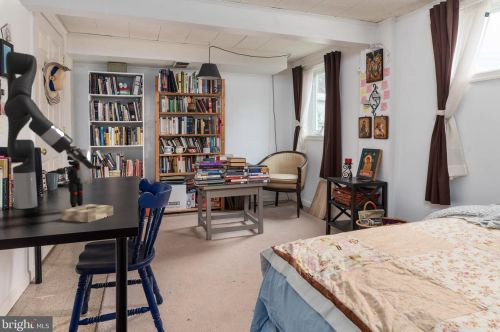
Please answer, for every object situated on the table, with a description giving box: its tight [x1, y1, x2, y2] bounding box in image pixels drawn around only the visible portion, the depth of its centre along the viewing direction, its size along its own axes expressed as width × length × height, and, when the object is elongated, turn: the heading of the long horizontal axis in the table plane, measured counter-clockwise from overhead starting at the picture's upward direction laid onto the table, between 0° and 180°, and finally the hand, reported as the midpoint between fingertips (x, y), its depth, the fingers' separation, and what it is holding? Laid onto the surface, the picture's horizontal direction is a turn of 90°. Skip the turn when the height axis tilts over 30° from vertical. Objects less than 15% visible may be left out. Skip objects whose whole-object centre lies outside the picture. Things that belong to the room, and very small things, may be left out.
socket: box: [61, 203, 114, 223], centre depth 145 cm, size 14×14×4 cm
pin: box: [79, 148, 93, 184], centre depth 143 cm, size 4×4×14 cm
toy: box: [46, 145, 102, 208], centre depth 156 cm, size 30×8×30 cm, turn 168°
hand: (90, 167), depth 144 cm, fingers closed on pin, 4 cm apart
